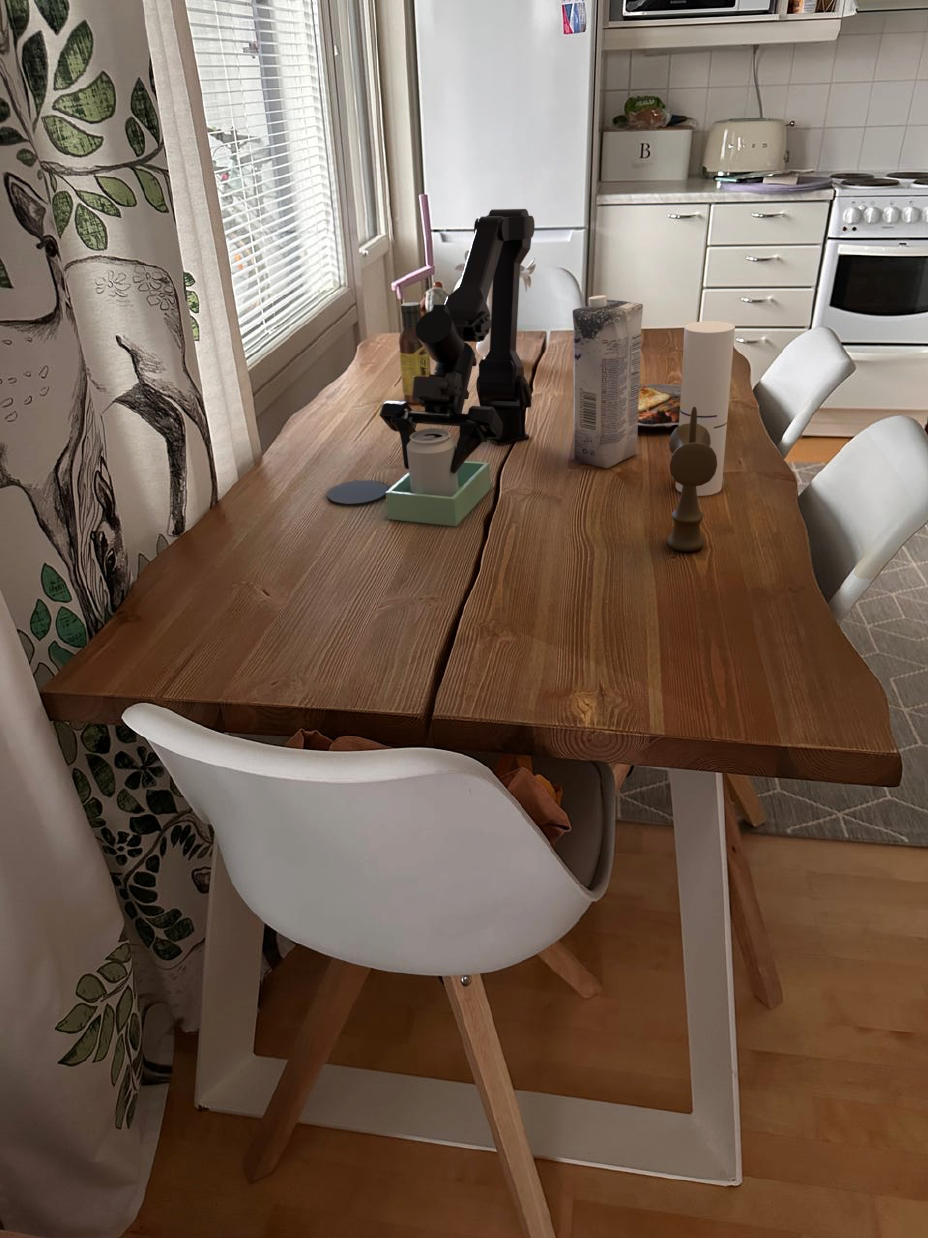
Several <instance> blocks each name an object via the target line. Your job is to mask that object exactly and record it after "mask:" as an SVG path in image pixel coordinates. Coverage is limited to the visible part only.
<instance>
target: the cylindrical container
mask: <svg viewBox="0 0 928 1238" xmlns="http://www.w3.org/2000/svg"><path fill="white" fill-rule="evenodd" d="M683 330H684V332H683V349H682V365H681V366H682V367H681V369H682V370H681V383H680V385H681V399H680V417H679V426H681V425H682V424H688V423H690V418H691V412H692V408H693V407H694V406H695V407H696V409H697V424H700V425H701V426H703V427H705V428H706V429H707V431H708V432H709V434H710V441H711V444H710V447H711V448H712V449H713V451H714V452H715V454H716V457H717V468H716V472H715V475H714V476H713V477H712V479H711V480H710V481H709V482H707V483H705V484H703V485H701V486H696V490H697V497H704V496H711V495H714V494H717V493H719V492H720V491H722V488H723V478H724V475H723V474H724V466H725V465H724V464H725V452H726V442H727V441H726V440H727V427H728V415H729V403H730V393H731V392H730V391H731V381H732V380H731V379H732V369H733V368H732V367H733V357H734V356H733V354H734V344H735V343H734V342H735V332H736V331H735V330H736V326H735V325H734V324H733V323H731V322H726V321H718V320H704V321H696V322H695V321H694V322H689V323H687V324H686V325H685V326H684V329H683ZM679 426H678V427H679ZM682 487H683V485H681V484H679V483H678V482H676V481H675V489H676V490H677V491H678V492H679V493H681V491H682Z"/></svg>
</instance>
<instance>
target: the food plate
mask: <svg viewBox="0 0 928 1238" xmlns="http://www.w3.org/2000/svg"><path fill="white" fill-rule="evenodd" d="M680 399H681V384H670V383H669V384H667V383H644V384H639V406H638V427H644V428H649V429H651V428H652V429H653V428H661V429H662V430H664V428H667V429H669V428H671V427H672V426H677V427H679V417H680Z"/></svg>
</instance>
